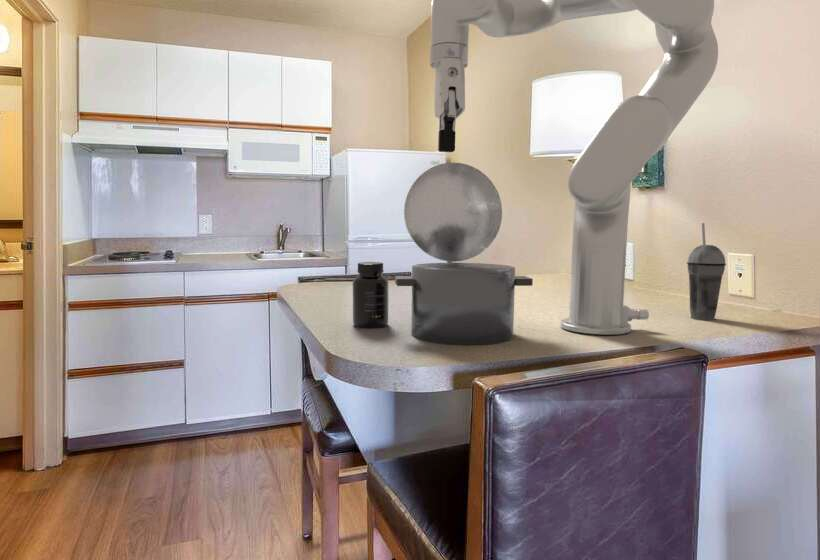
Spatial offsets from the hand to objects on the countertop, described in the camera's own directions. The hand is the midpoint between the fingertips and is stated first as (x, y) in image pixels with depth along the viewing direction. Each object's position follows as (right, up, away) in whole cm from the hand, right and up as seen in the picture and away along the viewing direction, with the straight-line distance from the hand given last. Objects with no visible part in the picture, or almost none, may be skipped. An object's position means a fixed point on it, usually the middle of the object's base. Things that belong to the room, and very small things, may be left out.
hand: (446, 151), depth 113 cm
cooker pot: (+2, -36, -14) cm, 39 cm away
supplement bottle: (-15, -35, -7) cm, 39 cm away
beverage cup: (+54, -35, +4) cm, 64 cm away
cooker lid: (+1, -13, -6) cm, 15 cm away
